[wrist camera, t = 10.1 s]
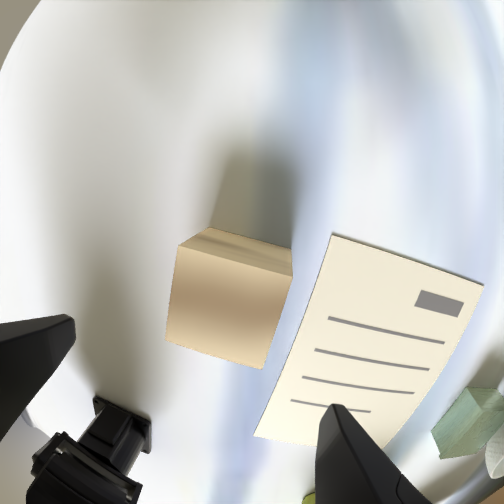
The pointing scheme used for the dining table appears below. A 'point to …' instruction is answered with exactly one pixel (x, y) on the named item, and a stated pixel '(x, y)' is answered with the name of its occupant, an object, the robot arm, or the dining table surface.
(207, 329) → the cube
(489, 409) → the translucent green block
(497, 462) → the cereal bowl
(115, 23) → the dining table surface
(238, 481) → the dining table surface
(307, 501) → the plant pot
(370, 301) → the letter
